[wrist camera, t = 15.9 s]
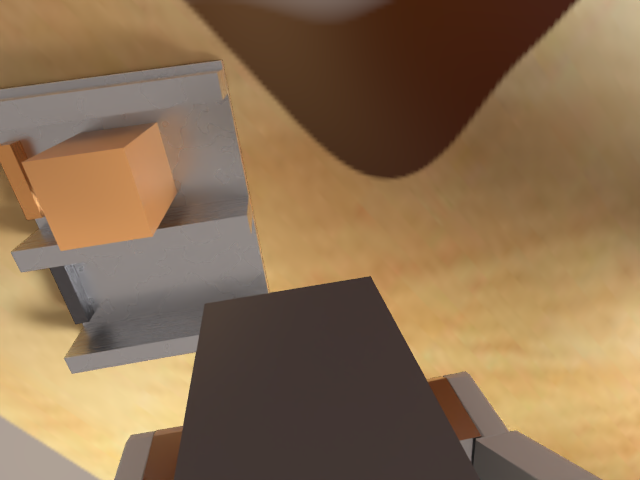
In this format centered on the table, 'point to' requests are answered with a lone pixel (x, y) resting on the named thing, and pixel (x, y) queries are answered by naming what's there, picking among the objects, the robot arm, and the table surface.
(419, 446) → the dark gray block
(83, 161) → the orange block
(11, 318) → the table surface
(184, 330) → the gray divided tray
